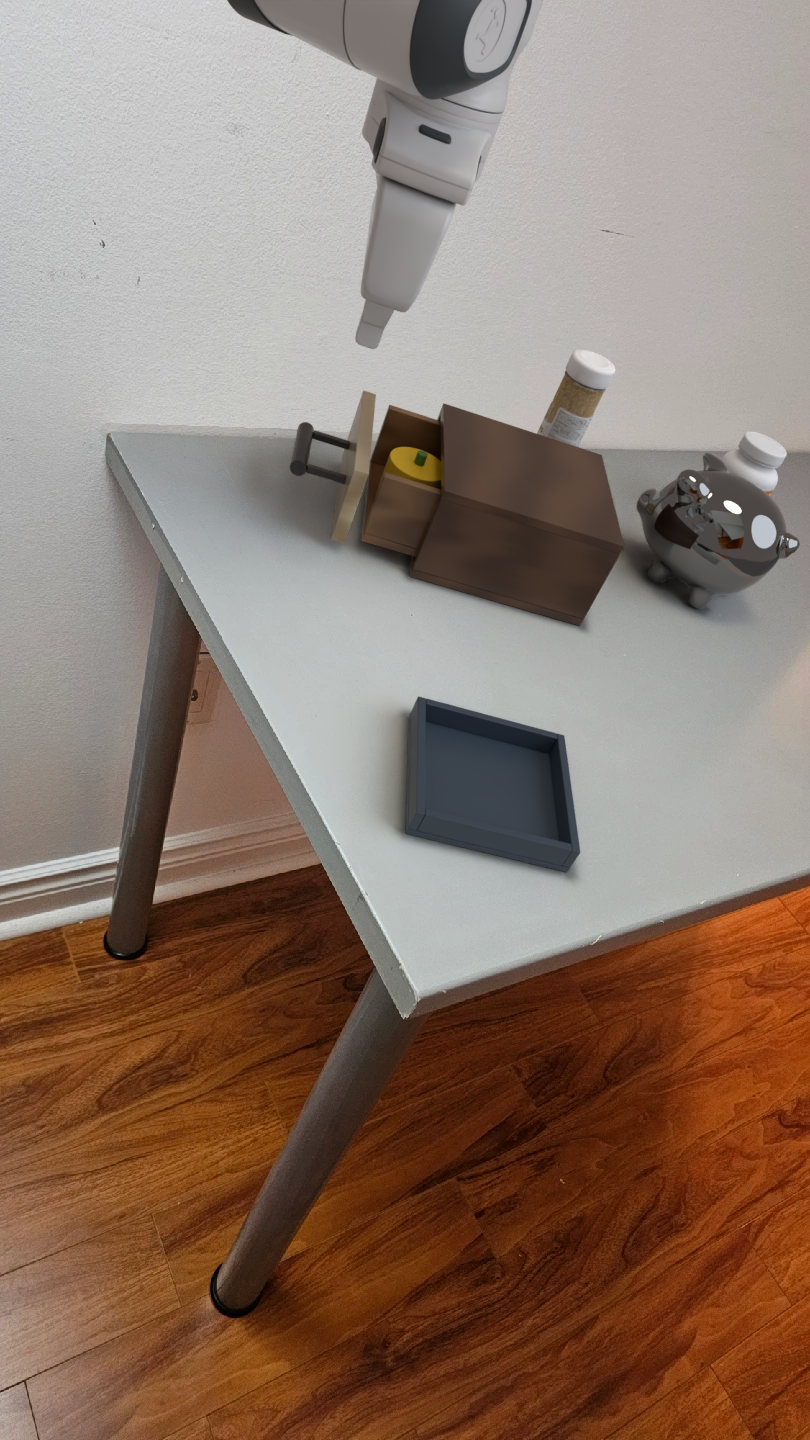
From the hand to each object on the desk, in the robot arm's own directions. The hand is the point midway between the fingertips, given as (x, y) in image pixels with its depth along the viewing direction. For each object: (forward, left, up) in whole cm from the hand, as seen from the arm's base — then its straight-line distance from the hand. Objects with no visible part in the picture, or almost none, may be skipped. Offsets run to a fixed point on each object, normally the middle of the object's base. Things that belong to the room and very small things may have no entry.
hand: (368, 319), depth 82 cm
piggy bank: (+37, +5, -17) cm, 41 cm away
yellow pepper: (+8, 0, -15) cm, 17 cm away
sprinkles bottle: (+23, +17, -17) cm, 33 cm away
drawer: (+7, 0, -16) cm, 17 cm away
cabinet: (+17, 0, -17) cm, 24 cm away
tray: (+15, -31, -17) cm, 38 cm away
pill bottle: (+43, +17, -17) cm, 49 cm away
